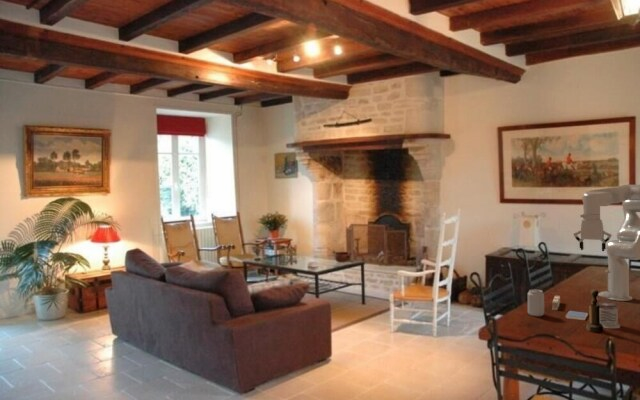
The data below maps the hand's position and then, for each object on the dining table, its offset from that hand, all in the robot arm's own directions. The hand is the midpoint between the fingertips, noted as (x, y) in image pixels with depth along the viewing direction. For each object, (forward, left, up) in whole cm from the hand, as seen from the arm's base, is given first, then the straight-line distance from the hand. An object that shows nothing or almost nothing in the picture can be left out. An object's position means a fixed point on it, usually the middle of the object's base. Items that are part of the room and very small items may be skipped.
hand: (592, 250), depth 261 cm
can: (+32, -20, -29) cm, 48 cm away
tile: (+21, -3, -29) cm, 36 cm away
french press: (+34, +10, -29) cm, 46 cm away
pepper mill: (+45, +7, -29) cm, 54 cm away
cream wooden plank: (+10, -15, -29) cm, 34 cm away
